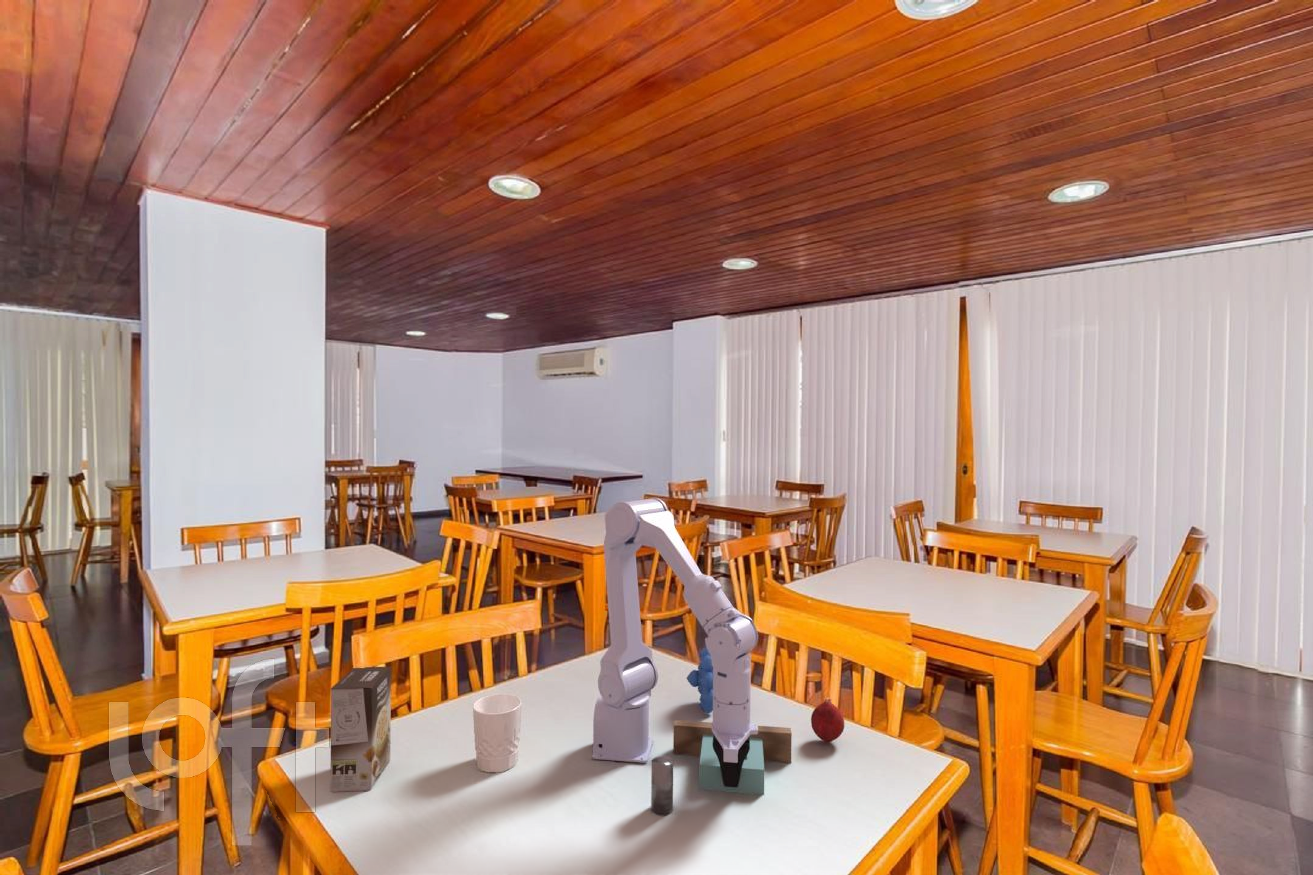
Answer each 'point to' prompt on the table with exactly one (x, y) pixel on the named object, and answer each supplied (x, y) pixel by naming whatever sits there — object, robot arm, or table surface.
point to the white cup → (497, 731)
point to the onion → (827, 721)
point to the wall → (773, 738)
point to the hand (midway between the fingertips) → (730, 784)
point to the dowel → (662, 786)
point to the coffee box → (360, 728)
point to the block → (750, 770)
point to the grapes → (704, 680)
